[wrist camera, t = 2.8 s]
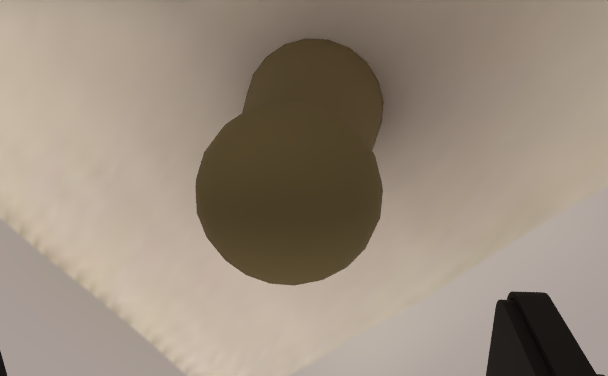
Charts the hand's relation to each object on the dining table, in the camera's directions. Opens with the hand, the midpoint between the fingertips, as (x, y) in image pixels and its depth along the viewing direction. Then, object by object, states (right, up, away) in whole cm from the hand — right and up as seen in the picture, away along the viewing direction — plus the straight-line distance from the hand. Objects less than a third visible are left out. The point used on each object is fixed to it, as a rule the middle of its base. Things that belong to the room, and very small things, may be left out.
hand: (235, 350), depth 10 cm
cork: (+2, +6, +14) cm, 16 cm away
